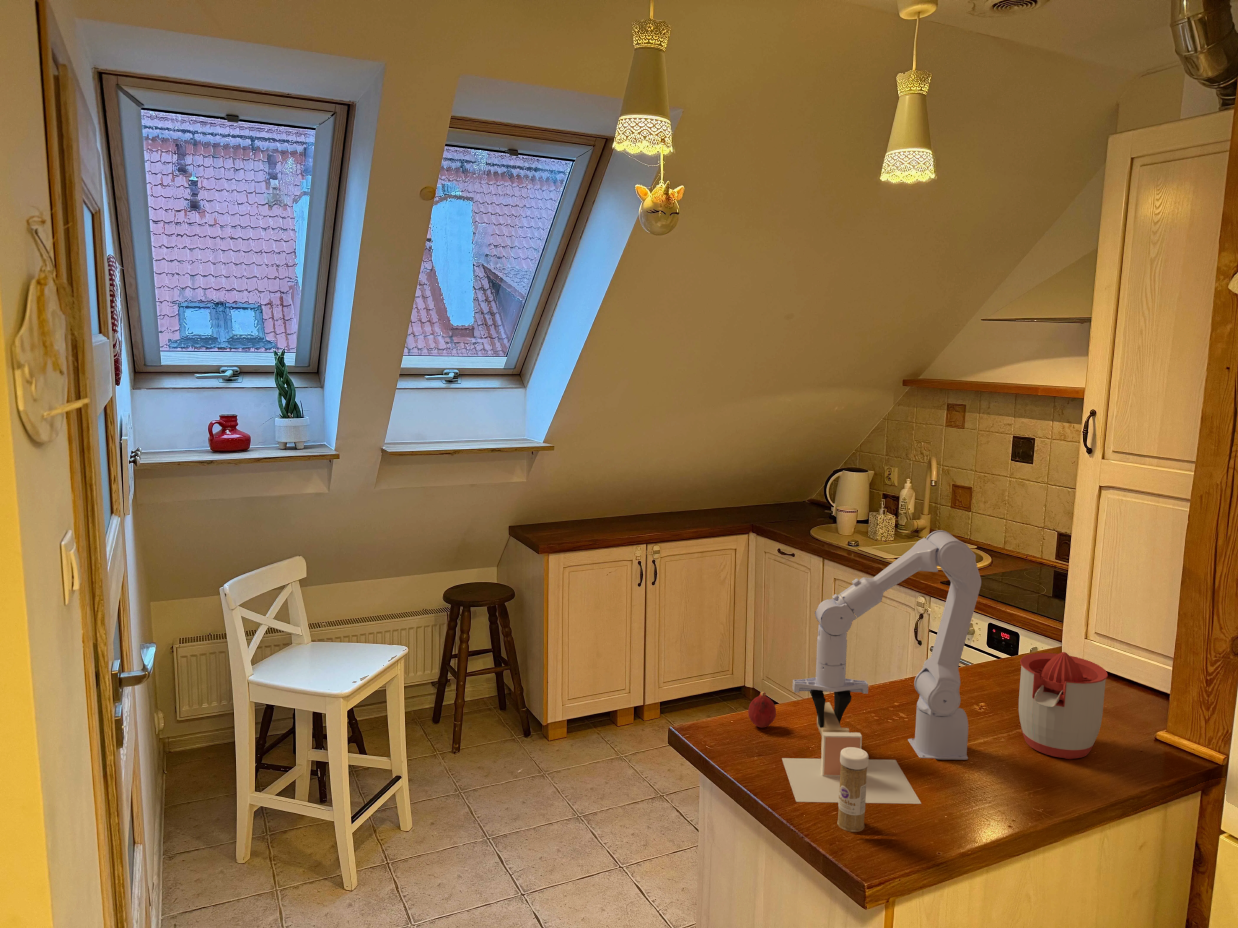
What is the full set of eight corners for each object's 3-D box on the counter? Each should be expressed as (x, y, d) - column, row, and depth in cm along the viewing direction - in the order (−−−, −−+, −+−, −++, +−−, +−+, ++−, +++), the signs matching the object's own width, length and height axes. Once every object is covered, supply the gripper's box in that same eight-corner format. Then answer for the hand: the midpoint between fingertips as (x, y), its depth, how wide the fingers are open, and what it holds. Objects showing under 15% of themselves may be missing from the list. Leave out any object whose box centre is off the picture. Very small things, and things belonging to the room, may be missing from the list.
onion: (775, 735, 181) (776, 699, 180) (747, 733, 182) (748, 696, 181) (775, 723, 187) (777, 687, 186) (748, 721, 188) (749, 685, 187)
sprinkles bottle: (832, 827, 147) (835, 752, 145) (844, 816, 151) (847, 743, 149) (857, 837, 145) (861, 761, 143) (869, 826, 148) (873, 751, 146)
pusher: (834, 724, 180) (835, 702, 180) (847, 753, 169) (849, 729, 168) (810, 724, 181) (811, 701, 180) (821, 753, 169) (823, 729, 168)
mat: (895, 762, 170) (895, 759, 170) (921, 806, 154) (921, 803, 154) (781, 760, 171) (781, 757, 171) (796, 803, 155) (796, 801, 155)
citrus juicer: (998, 749, 176) (1005, 654, 173) (1030, 722, 188) (1037, 633, 185) (1082, 777, 165) (1091, 675, 162) (1111, 746, 177) (1119, 652, 174)
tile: (858, 772, 165) (859, 732, 164) (860, 776, 164) (862, 736, 162) (820, 771, 165) (822, 731, 164) (822, 776, 164) (824, 735, 162)
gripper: (863, 653, 177) (860, 717, 179) (791, 652, 177) (788, 716, 179) (872, 666, 170) (869, 732, 172) (797, 665, 170) (794, 731, 172)
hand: (828, 725), depth 175 cm, fingers closed on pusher, 2 cm apart
